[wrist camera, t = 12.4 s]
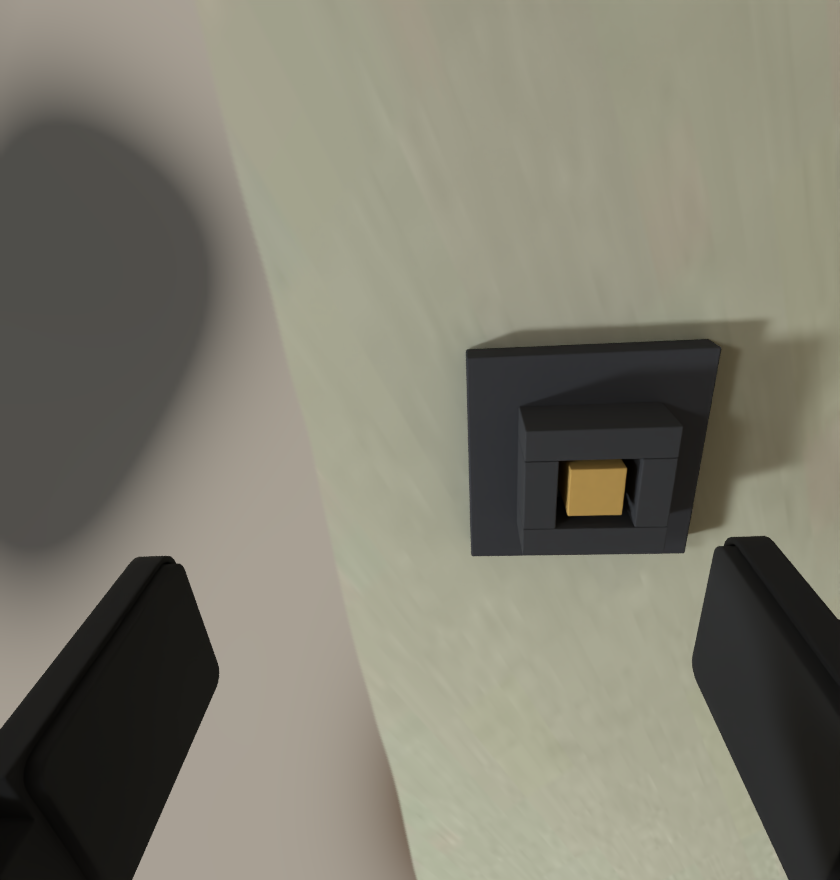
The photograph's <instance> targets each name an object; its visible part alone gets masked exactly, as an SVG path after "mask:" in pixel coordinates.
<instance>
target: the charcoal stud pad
mask: <svg viewBox="0 0 840 880" xmlns="http://www.w3.org/2000/svg"><path fill="white" fill-rule="evenodd" d="M720 352H721V347H720V346H718V345H717V344H715V343H714V342H712V341H711V340H709V339H701V340H677V341H654V342H631V343H608V344H584V345H561V346H538V347H515V348H491V349H468V350H466V376H467V414H468V452H469V490H470V529H471V555H472V556H519V555H523V554H522V549H521V544H520V538H519V532H518V527H517V476H518V436H519V435H518V419H519V407H527V406H556V405H585V404H613V403H642V402H662V403H663V404H664V405H665V407H666V408H667V409H668V410H669V411H670V412H671V413H672V414H673V415H674V417H675V418H676V419H677V420H678V421H679V422H680V423H681V424H682V426H683V433H682V439H681V445H680V452H679V457H678V464H677V470H676V477H675V483H674V489H673V495H672V502H671V508H670V514H669V521H668V526H667V527H668V528H667V534H666V541H665V547H664V553H684V552H685V547H686V541H687V536H688V530H689V524H690V519H691V513H692V508H693V502H694V497H695V491H696V486H697V480H698V475H699V469H700V463H701V458H702V452H703V447H704V441H705V436H706V430H707V425H708V419H709V413H710V408H711V402H712V397H713V391H714V386H715V380H716V375H717V369H718V364H719V358H720ZM626 474H627V468H626V466H625V464H624V462H623V459H604V460H567V461H559V472H558V491H557V497H562V500H563V503H564V506H565V509H566V512H567V515H568V516H589V515H622V509H623V500H624V491H625V483H626ZM642 554H662V553H642ZM571 555H591V554H571Z"/></svg>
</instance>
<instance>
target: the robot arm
mask: <svg viewBox="0 0 840 880" xmlns="http://www.w3.org/2000/svg"><path fill="white" fill-rule="evenodd" d="M692 667H693V672H694V676H695V679H696V681H697V684H698V686H699V688H700V690H701V692H702V694H703V696H704V699H705V701H706V703H707V705H708V707H709V709H710V712H711V714H712V716H713V718H714V720H715V722H716V724H717V727H718V729H719V731H720V733H721V735H722V737H723V740H724V742H725V744H726V746H727V748H728V750H729V752H730V755H731V757H732V759H733V761H734V763H735V765H736V768H737V770H738V772H739V774H740V776H741V778H742V780H743V783H744V785H745V787H746V789H747V791H748V793H749V795H750V798H751V800H752V802H753V804H754V806H755V808H756V811H757V813H758V815H759V817H760V819H761V821H762V823H763V826H764V828H765V830H766V832H767V834H768V836H769V839H770V841H771V843H772V845H773V847H774V849H775V851H776V854H777V856H778V858H779V860H780V862H781V864H782V866H783V869H784V871H785V873H786V875H787V877H788V879H789V880H840V620H839V619H837V618H836V616H835V615H834V614H833V613H832V612H831V610H830V609H829V608H828V607H827V606H826V604H825V603H824V602H823V601H822V600H821V598H820V597H819V596H818V595H817V594H816V592H815V591H814V590H813V589H812V588H811V586H810V585H809V584H808V583H807V581H806V580H805V579H804V578H803V577H802V575H801V574H800V573H799V572H798V571H797V569H796V568H795V567H794V566H793V565H792V563H791V562H790V561H789V560H788V559H787V557H786V556H785V555H784V554H783V553H782V551H781V550H780V549H779V548H778V547H777V545H776V544H775V543H774V542H773V541H772V540H771V539H770V538H769V537H766V536H751V537H730V538H728V539H727V540H726V541H725V544H724V546H719V547H717V548H716V549H715V551H714V554H713V559H712V564H711V569H710V574H709V578H708V583H707V588H706V593H705V598H704V603H703V608H702V613H701V617H700V622H699V627H698V632H697V637H696V642H695V647H694V652H693V657H692ZM218 679H219V666H218V663H217V660H216V657H215V654H214V651H213V648H212V646H211V643H210V640H209V637H208V634H207V631H206V629H205V626H204V623H203V620H202V617H201V615H200V612H199V609H198V606H197V603H196V600H195V597H194V595H193V592H192V589H191V586H190V583H189V580H188V578H187V575H186V572H185V569H184V567H183V566H182V565H181V564H176V562H175V560H174V559H173V558H172V557H170V556H149V557H137V558H135V559H134V560H133V561H132V562H131V563H130V564H129V565H128V566H127V568H126V569H125V570H124V572H123V573H122V574H121V575H120V577H119V578H118V579H117V580H116V582H115V583H114V584H113V586H112V587H111V588H110V590H109V591H108V592H107V594H106V595H105V596H104V597H103V598H102V600H101V601H100V602H99V604H98V605H97V606H96V608H95V609H94V610H93V611H92V613H91V614H90V615H89V616H88V618H87V619H86V620H85V622H84V623H83V624H82V625H81V627H80V628H79V629H78V630H77V632H76V633H75V634H74V636H73V637H72V638H71V639H70V641H69V642H68V643H67V645H66V646H65V647H64V648H63V650H62V651H61V652H60V654H59V655H58V656H57V657H56V659H55V660H54V661H53V663H52V664H51V665H50V666H49V668H48V669H47V670H46V672H45V673H44V674H43V675H42V677H41V678H40V679H39V680H38V682H37V683H36V684H35V686H34V687H33V688H32V689H31V691H30V692H29V693H28V695H27V696H26V697H25V698H24V700H23V701H22V702H21V704H20V705H19V706H18V708H17V709H16V710H15V711H14V712H13V714H12V715H11V717H10V718H9V719H8V720H7V721H6V723H5V724H4V725H3V727H2V728H1V729H0V880H132V879H133V877H134V874H135V872H136V870H137V867H138V865H139V863H140V860H141V858H142V856H143V854H144V851H145V849H146V847H147V845H148V842H149V840H150V838H151V835H152V833H153V831H154V829H155V826H156V824H157V822H158V819H159V817H160V815H161V813H162V810H163V808H164V806H165V803H166V801H167V799H168V797H169V794H170V792H171V790H172V787H173V785H174V783H175V781H176V778H177V776H178V774H179V771H180V769H181V767H182V764H183V762H184V760H185V758H186V756H187V753H188V751H189V748H190V746H191V744H192V742H193V739H194V737H195V735H196V733H197V730H198V728H199V726H200V724H201V721H202V719H203V717H204V714H205V712H206V710H207V708H208V705H209V703H210V701H211V698H212V696H213V694H214V692H215V689H216V687H217V684H218Z"/></svg>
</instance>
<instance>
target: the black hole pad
mask: <svg viewBox="0 0 840 880" xmlns="http://www.w3.org/2000/svg"><path fill="white" fill-rule="evenodd" d="M682 433H683V426H682V424H681V423H680V422H679V421H678V420H677V419H676V418H675V417H674V415H673V414H672V413H671V412H670V411H669V410H668V409H667V408H666V407H665V405H664V404H663V403H662V402H642V403H613V404H585V405H556V406H527V407H519V419H518V435H519V436H518V476H517V527H518V532H519V538H520V544H521V549H522V554H523V555H571V554H642V553H664V547H665V541H666V534H667V528H668V527H667V526H668V521H669V514H670V508H671V502H672V495H673V489H674V483H675V477H676V470H677V464H678V457H679V452H680V445H681V439H682ZM604 459H623V462H624V464H625V466H626V468H627V474H626V483H625V491H624V500H623V509H622V515H589V516H568V515H567V512H566V509H565V506H564V503H563V500H562V497H557V491H558V472H559V461H567V460H604Z"/></svg>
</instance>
